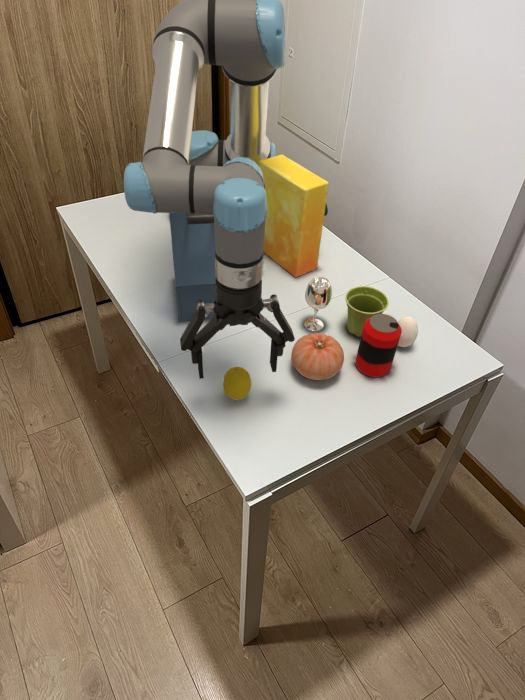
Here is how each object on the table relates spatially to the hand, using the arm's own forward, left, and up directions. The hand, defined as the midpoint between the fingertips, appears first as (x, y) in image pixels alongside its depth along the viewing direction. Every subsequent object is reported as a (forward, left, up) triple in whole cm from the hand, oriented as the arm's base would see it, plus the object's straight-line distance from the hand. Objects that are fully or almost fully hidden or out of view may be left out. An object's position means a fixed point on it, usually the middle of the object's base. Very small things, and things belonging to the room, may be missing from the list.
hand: (237, 370), depth 100 cm
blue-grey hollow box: (-11, -30, -8) cm, 33 cm away
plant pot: (-35, -1, -8) cm, 36 cm away
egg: (-39, +8, -8) cm, 41 cm away
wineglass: (-27, -8, -8) cm, 29 cm away
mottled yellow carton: (-41, -33, -8) cm, 53 cm away
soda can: (-29, +9, -8) cm, 32 cm away
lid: (-9, -26, +10) cm, 29 cm away
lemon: (0, 0, -8) cm, 8 cm away
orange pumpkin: (-18, +3, -8) cm, 20 cm away
